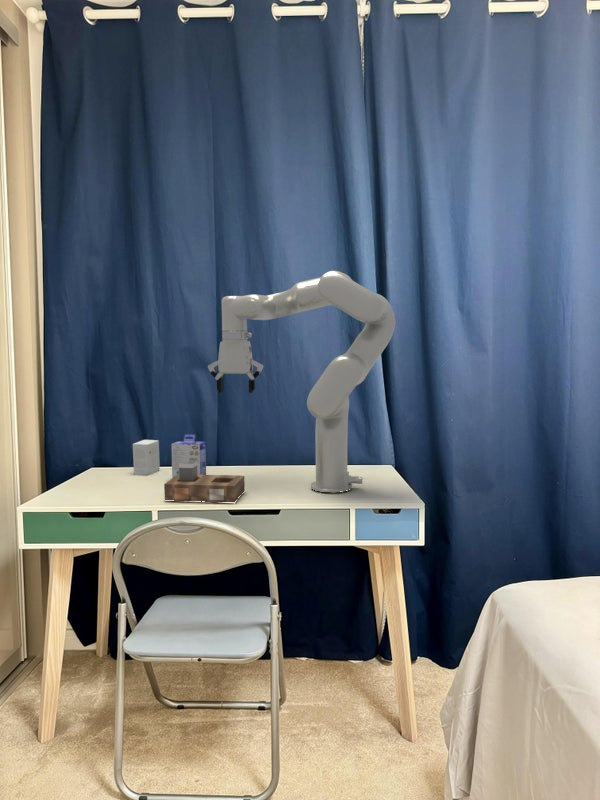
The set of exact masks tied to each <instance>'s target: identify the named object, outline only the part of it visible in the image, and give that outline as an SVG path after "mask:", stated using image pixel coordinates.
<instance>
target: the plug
mask: <svg viewBox="0 0 600 800" xmlns="http://www.w3.org/2000/svg"><path fill="white" fill-rule="evenodd" d="M196 480H198V475H197V461H182V462H181V463H179V481H180V482H195V481H196Z"/></svg>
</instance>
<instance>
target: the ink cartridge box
mask: <svg viewBox="0 0 600 800" xmlns="http://www.w3.org/2000/svg"><path fill="white" fill-rule="evenodd" d="M188 437H189V438H188ZM190 437H191V438H190ZM195 439H196V434H184V438H183V441H175V442H173V443H171V479H172V478H174V477H175V476H177V475H178V474H179V463H181V462H182V461H197V475H207V450H206V441H196V440H195Z"/></svg>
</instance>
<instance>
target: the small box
mask: <svg viewBox="0 0 600 800" xmlns="http://www.w3.org/2000/svg"><path fill="white" fill-rule="evenodd" d="M132 455H133V475H138V476H139V475H140V476H149V475H151V474H154V473H156V472H158V471H160V466H161V465H160V463H161V462H160V441H159V439H157V440H155V439H142V440H139V441H137V442H135V443H132Z"/></svg>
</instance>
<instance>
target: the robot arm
mask: <svg viewBox="0 0 600 800" xmlns="http://www.w3.org/2000/svg"><path fill="white" fill-rule="evenodd" d="M328 306H329V307H330V306H335V308H337V309H339V310H341V311H342V312H344V313H346V314H347V315H348V316H350V317H352V318H354V319H355V320H357V321H359V322H361V323H363V324H365V325H364V327H363V328H362V331H360V332H359V334H357V336H356V337H355V339H354V341H353V342H352V344H351V345H350V347H348V349H347V351H346V352H345V353H343V354H340V355H338V356H336V357H335V358H333V359H332V360H331V362H330V363H329V364H328V365H327V367H326V368H325V370H324V371H323V372H322V374H321V375H320V376H319V378H318V380H317V381H316V383H315V384H314V385H313V387H312V389H311V390H310V391H309V394H308V396H307V399H306V406H307V409H308V411H309V413H310V414H311V415H312V417H314V418H315V432H314V433H315V434H314V435H315V481H313V482H311V483H310V489H311V490H312V489H313V490H312V491H314V490H315V491H314V492H317V491H320V492H319V493H321V492H340V491H346V490H349V489H351V488H352V487H353V484H356V485H363V477H362V476H361V477H360V476H358V475H357V476H356V475H355V476H353V475H350V471H348V433H349V431H348V426H349V425H348V424H349V421H348V420H349V410H350V397H349V396H350V395H351V393H352V392H353V390H354V389H355V388H356V387H357V386H358V385H360V384H362V382H364V381H365V380H366V377H367V375H368V374H369V372H370V371H371V370H372V368H374V365H375V364H376V362H377V361H378V359H379V358H380V356H381V355H382V353H383V352H384V350H385V349H386V347H387V346H388V344H389V343H390V341H391V340H392V337H393V335H394V332H395V325H396V318H395V317H396V316H395V312H394V310H393V308H392V306H391V303H390V302H389V301H388V299H386V297H384V296H383V295H381V294H379V293H375V292H373V291H371V290H369V289H368V288H366V287H364V286H363V285H361V284H359V283H358V282H356V281H354V280H353V279H352V278H351V276H349V275H348V274H346V273H343V272H342V271H339V270H329V271H327V272H325V273H324V274H323V275H321V276H320V277H316V278H311V279H306V280H303V281H300V282H297V283H294V285H293V286H292V287H291V288H289V289H287V290H284V291H281V292H277V293H273V294H272V293H271V294H267V295H264V294H263V295H262V294H256V293H255V294H254V293H253V294H247V295H227V296H223V297H222V298H221V326H222V327H221V330H222V335H221V336H222V339H221V340H222V341H220V343H219V349H218V350H219V351H218V360H216V361H213V362H211V363H210V364H208V365H207V369H208V371H209V372H210V374H211V376H212V377H213V378H214V379H215V380H216V391H218V394H220V393H223V392H224V380H223V376H224V375H225V374H227V375H229V374H231V375H239V374H240V375H242V374H243V375H245V374H246V375H247V377H248V378H249V379H248V393H250V394H252V393H254V391H255V390H256V379H257V377H259V376H260V374H261V373H262V370H263V369H264V365H263V364H261V363H260V362H258V361H255V360H254V359H253V353H252V344H251V342H250V340H248V339H249V338H252V337H253V336H252V332H248V323H247V321H248V320H255V321H269V320H273V319H278V318H282V317H286V316H291V315H295V314H298V313H299V314H301V313H303V312H307V311H311V310H315V309H320V308H323V307H328ZM215 367H218V368H217V370H218V372H217V371H216V370H215ZM254 367H256V370H255V372H253V370H254ZM353 488H354V487H353ZM353 488H352V489H353Z"/></svg>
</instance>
